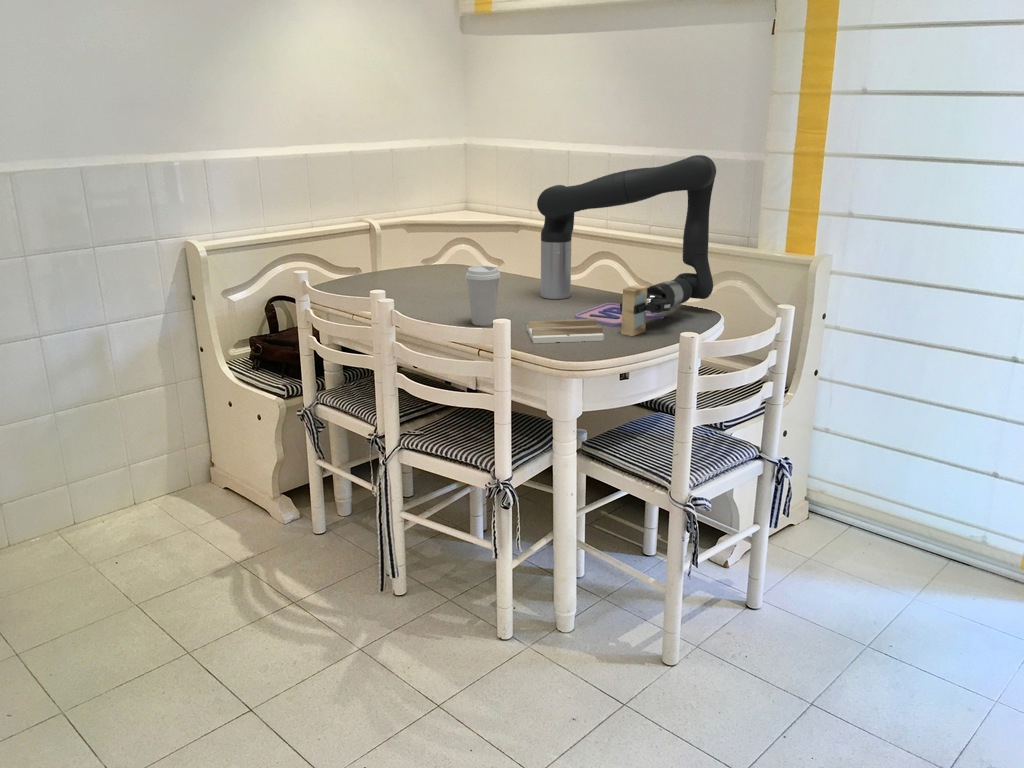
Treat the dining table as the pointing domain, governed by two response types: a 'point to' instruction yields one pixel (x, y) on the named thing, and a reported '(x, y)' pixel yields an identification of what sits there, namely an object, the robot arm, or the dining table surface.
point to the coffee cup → (483, 293)
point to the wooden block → (631, 321)
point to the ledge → (565, 331)
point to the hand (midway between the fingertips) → (628, 308)
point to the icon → (610, 314)
